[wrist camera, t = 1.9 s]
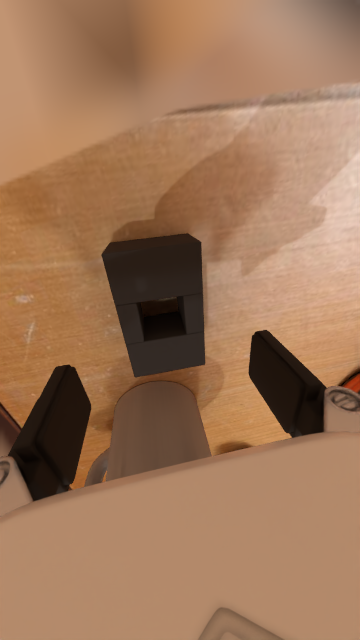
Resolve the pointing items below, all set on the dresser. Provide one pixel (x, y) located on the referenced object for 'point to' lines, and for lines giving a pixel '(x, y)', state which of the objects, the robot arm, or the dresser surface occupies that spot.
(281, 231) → the dresser surface
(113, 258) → the black block with hole
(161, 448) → the coffee mug
